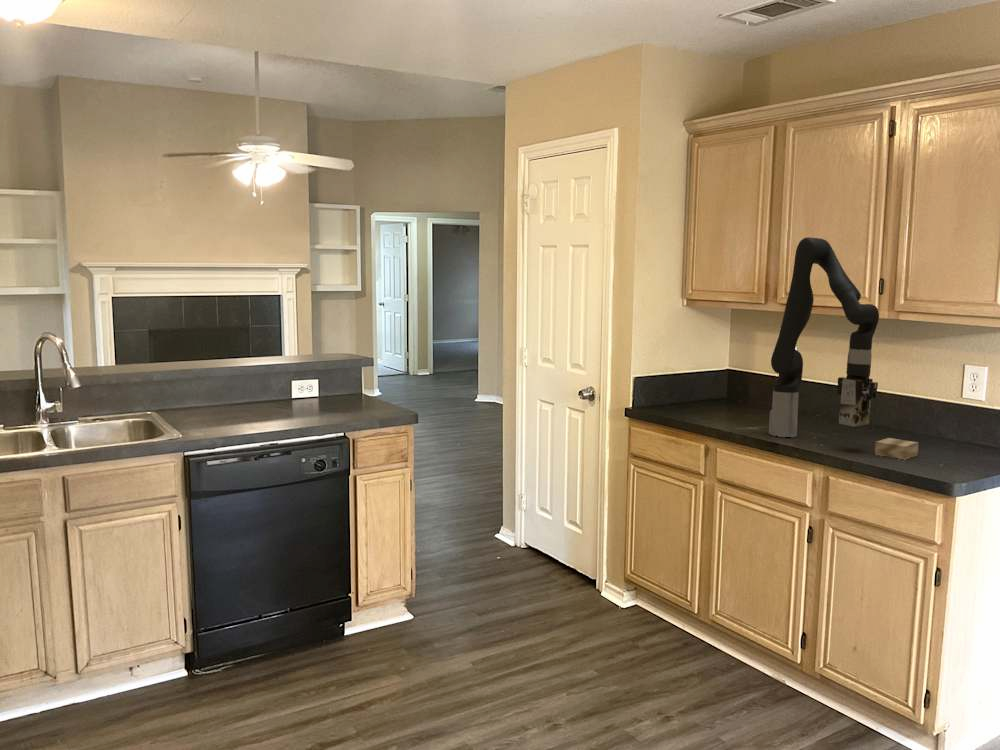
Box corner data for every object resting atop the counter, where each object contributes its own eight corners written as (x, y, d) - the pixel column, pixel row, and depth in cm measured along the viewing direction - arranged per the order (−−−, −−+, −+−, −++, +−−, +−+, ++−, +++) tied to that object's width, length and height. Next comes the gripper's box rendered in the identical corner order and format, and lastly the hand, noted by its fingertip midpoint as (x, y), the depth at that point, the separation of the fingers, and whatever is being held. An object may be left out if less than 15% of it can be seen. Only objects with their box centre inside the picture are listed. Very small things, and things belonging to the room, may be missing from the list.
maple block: (874, 455, 269) (875, 441, 268) (887, 451, 275) (888, 437, 275) (904, 461, 261) (905, 446, 261) (917, 456, 268) (918, 442, 267)
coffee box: (855, 427, 269) (859, 380, 266) (838, 423, 274) (841, 378, 272) (869, 424, 274) (873, 378, 272) (852, 421, 279) (856, 376, 277)
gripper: (833, 360, 275) (830, 406, 277) (871, 365, 263) (867, 413, 265) (847, 359, 279) (843, 405, 281) (885, 363, 267) (880, 411, 269)
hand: (855, 409), depth 273 cm, fingers closed on coffee box, 6 cm apart
